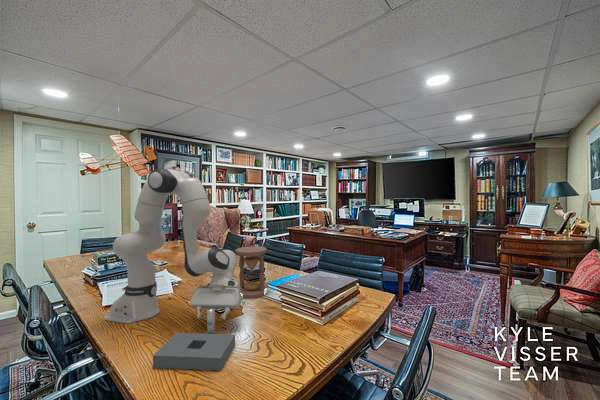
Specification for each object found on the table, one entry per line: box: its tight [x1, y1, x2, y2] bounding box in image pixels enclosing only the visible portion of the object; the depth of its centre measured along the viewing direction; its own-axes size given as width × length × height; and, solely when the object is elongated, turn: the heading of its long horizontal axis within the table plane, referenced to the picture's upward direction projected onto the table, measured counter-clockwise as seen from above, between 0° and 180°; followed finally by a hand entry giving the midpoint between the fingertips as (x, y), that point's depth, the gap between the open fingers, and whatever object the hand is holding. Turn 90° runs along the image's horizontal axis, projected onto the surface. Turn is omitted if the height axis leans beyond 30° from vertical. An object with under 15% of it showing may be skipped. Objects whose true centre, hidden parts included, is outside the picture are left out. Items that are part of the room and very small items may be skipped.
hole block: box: [152, 332, 236, 372], centre depth 89 cm, size 22×14×4 cm, turn 85°
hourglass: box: [234, 245, 268, 300], centre depth 149 cm, size 18×18×25 cm
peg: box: [206, 308, 216, 334], centre depth 103 cm, size 3×3×10 cm
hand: (211, 318), depth 103 cm, fingers open, 8 cm apart
